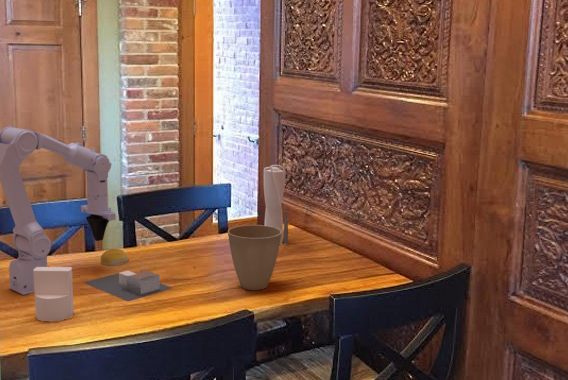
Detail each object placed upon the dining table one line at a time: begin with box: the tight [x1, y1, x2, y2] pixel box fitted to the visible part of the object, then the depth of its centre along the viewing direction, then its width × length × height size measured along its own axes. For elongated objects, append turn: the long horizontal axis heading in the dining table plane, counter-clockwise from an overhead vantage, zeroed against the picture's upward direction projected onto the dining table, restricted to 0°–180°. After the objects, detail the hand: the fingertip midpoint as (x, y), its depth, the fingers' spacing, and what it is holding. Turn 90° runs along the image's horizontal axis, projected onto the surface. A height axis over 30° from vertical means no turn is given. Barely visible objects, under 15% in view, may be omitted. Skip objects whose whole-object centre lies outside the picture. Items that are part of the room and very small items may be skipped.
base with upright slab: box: [33, 266, 75, 323], centre depth 185 cm, size 9×9×12 cm
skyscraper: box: [263, 164, 289, 248], centre depth 250 cm, size 8×8×28 cm
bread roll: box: [100, 248, 130, 267], centre depth 229 cm, size 8×9×4 cm
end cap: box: [122, 269, 161, 296], centre depth 204 cm, size 8×8×4 cm
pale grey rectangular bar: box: [118, 270, 137, 285], centre depth 206 cm, size 11×3×3 cm, turn 48°
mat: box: [82, 272, 173, 302], centre depth 208 cm, size 15×21×1 cm
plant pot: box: [227, 224, 282, 291], centre depth 209 cm, size 15×15×16 cm
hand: (98, 240), depth 219 cm, fingers closed
